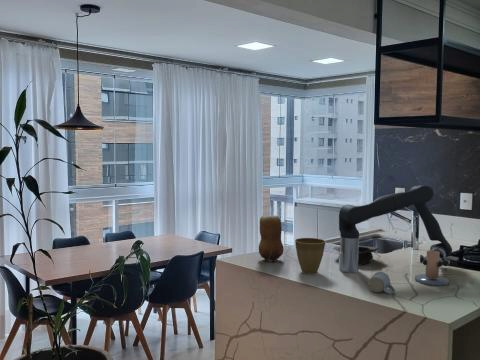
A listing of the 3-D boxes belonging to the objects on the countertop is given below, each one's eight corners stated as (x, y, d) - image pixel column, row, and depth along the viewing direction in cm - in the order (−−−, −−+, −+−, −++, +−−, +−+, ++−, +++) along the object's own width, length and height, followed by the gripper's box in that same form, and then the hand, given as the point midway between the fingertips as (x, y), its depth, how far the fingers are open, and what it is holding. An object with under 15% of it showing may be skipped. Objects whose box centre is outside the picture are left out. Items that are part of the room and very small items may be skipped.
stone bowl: (368, 268, 241) (368, 251, 240) (324, 264, 256) (324, 247, 255) (386, 258, 260) (385, 242, 260) (344, 255, 276) (343, 239, 275)
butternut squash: (266, 256, 264) (267, 212, 262) (287, 259, 257) (288, 214, 255) (253, 261, 253) (254, 215, 251) (274, 265, 246) (275, 218, 243)
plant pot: (330, 272, 233) (331, 241, 232) (311, 278, 224) (311, 245, 222) (307, 266, 245) (308, 236, 243) (288, 271, 235) (288, 239, 234)
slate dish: (419, 285, 215) (419, 282, 215) (411, 276, 230) (411, 273, 230) (453, 286, 213) (453, 284, 213) (442, 277, 228) (443, 274, 228)
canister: (427, 278, 219) (428, 252, 218) (424, 274, 224) (425, 250, 223) (439, 278, 218) (441, 253, 217) (436, 275, 224) (437, 250, 223)
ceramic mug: (367, 291, 205) (368, 274, 204) (372, 286, 212) (373, 270, 211) (391, 296, 199) (392, 279, 199) (396, 291, 206) (397, 274, 205)
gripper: (421, 247, 236) (415, 254, 222) (452, 250, 229) (449, 258, 215) (421, 261, 237) (415, 269, 222) (452, 265, 230) (448, 274, 215)
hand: (431, 264), depth 219 cm, fingers closed on canister, 5 cm apart
